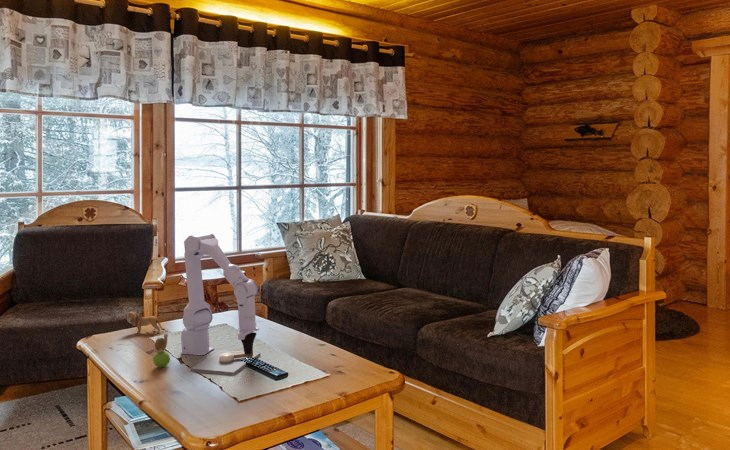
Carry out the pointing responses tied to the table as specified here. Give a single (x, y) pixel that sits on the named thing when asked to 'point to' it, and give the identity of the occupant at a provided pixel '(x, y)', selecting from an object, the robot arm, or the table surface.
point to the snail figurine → (161, 352)
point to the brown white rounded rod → (232, 356)
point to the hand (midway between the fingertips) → (248, 353)
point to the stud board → (222, 364)
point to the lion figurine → (143, 321)
